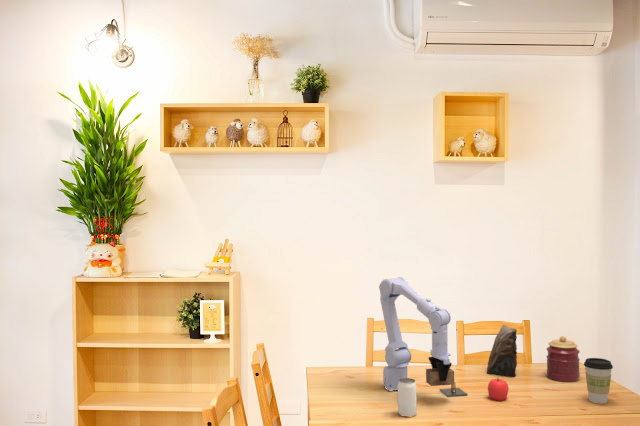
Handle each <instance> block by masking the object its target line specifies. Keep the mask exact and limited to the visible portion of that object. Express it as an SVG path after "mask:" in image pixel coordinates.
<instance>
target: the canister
mask: <svg viewBox="0 0 640 426" xmlns="http://www.w3.org/2000/svg"><path fill="white" fill-rule="evenodd" d="M546 351H547V355H546V376H547V378H548V379H551V380H552V381H556V382H557V381H558V382H565V383H566V382H567V383H573V382H577V381H579V380H580V376H581V375H580V374H581V373H580V361H581V360H580V357H579V354H580V353H581V352H580V350H579V349H578V344H577V343H575V342H574V341H573V340H568V339H567V337H566V336H564V335H560V337H559V339H552V341H550V342H548V347H547V348H546Z"/></svg>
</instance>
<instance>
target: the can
mask: <svg viewBox="0 0 640 426" xmlns="http://www.w3.org/2000/svg"><path fill="white" fill-rule="evenodd" d="M398 413H399V414H400V415H404V416H413V415H415V416H417V383H416V380H415V379H414V378H412V377H411V378H410V377H407V378H402V379H399V383H398V391H397V414H398ZM399 414H398V415H399ZM400 415H399V416H400ZM413 417H414V416H413Z"/></svg>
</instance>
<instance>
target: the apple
mask: <svg viewBox="0 0 640 426" xmlns="http://www.w3.org/2000/svg"><path fill="white" fill-rule="evenodd" d="M499 378H500V377H497V378H493V379H491V380H490V381H489V383H488V384H487V393H488V397H490V399H492V400H494V401H499V402H500V401H505V400H506V399H507V398H508V394H509V390H510V389H509V388H510V387H509V384H508V382H507V381H506V380H504V379H502V378H501V379H499Z"/></svg>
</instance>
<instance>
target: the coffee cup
mask: <svg viewBox="0 0 640 426" xmlns="http://www.w3.org/2000/svg"><path fill="white" fill-rule="evenodd" d="M583 366H584V367H585V368H584V369H585V378H586V387H587V389H586V390H587V393H588V400H589V402H590V403H594V404H602V405H603V404H607V403H608V400H609V393H610V388H611V378H612V369H614V366H613V365H612V362H611V361H610V360H609V359H605V358H601V357H600V358H598V357H588V358H586V359H585V361H584V363H583Z"/></svg>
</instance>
